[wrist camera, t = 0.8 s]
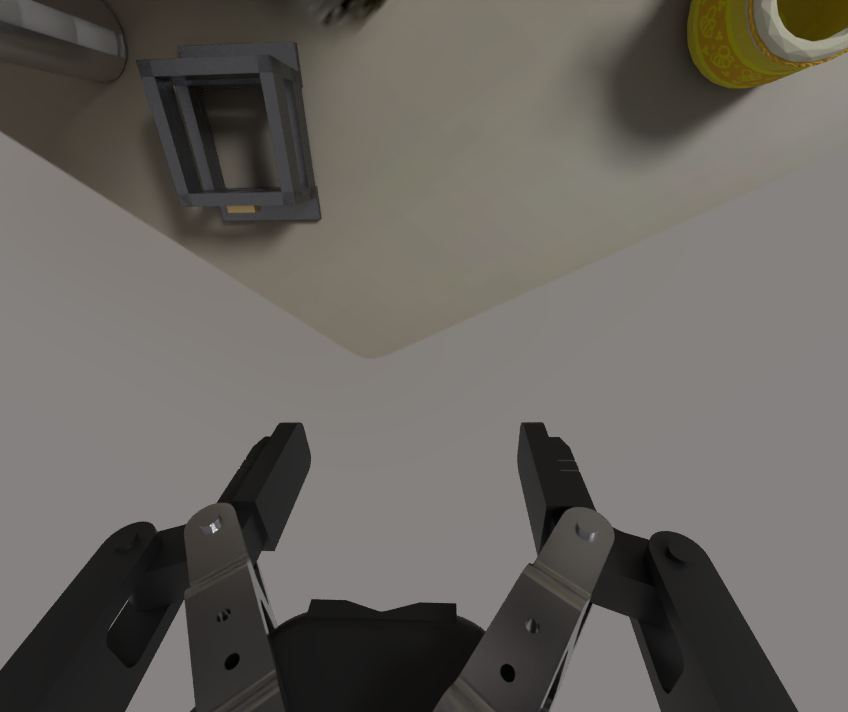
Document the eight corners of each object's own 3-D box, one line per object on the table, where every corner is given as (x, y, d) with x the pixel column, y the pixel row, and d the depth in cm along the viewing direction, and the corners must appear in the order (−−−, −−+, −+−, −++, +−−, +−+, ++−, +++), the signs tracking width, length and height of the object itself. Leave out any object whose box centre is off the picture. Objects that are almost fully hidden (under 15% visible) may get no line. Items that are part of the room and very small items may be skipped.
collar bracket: (182, 48, 32) (125, 24, 26) (296, 43, 31) (263, 18, 26) (226, 219, 38) (188, 230, 33) (321, 218, 38) (299, 229, 32)
